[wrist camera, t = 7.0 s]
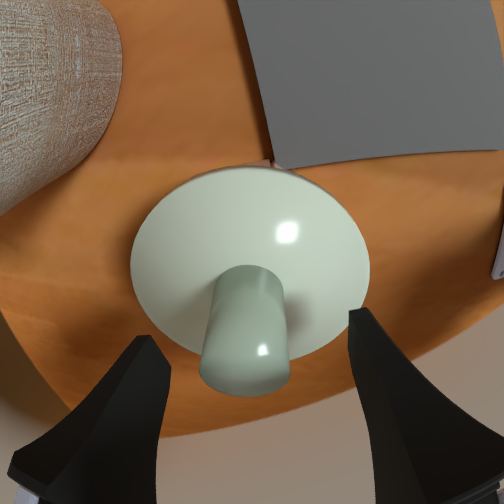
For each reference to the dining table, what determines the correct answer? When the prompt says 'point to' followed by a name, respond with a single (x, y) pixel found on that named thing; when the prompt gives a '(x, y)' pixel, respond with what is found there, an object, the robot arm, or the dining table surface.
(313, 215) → the lid
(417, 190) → the dining table surface
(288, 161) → the mat
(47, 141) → the planter
